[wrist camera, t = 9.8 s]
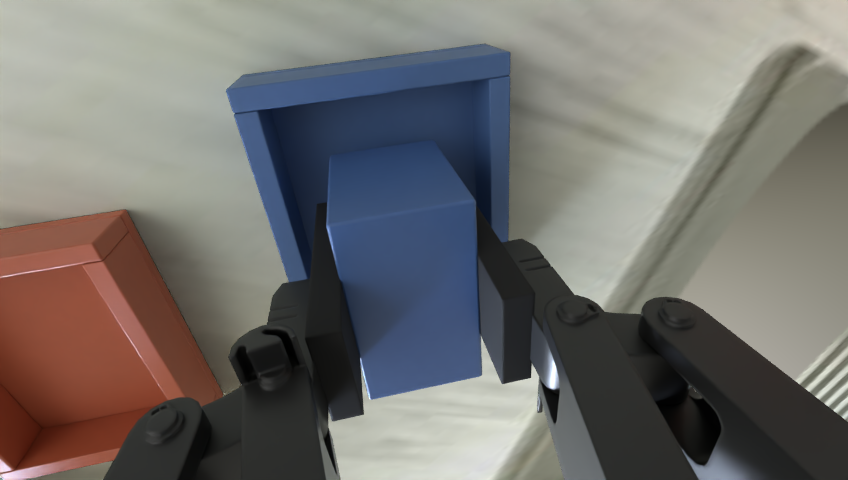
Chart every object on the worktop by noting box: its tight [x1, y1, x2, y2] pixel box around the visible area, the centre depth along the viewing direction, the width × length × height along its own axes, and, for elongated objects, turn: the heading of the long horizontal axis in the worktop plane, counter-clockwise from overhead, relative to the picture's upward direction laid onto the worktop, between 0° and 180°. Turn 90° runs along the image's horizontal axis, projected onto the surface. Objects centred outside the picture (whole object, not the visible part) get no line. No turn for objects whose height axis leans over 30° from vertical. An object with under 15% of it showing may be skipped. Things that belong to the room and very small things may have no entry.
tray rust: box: [0, 210, 223, 480], centre depth 17 cm, size 10×8×2 cm
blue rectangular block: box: [326, 140, 482, 399], centre depth 13 cm, size 6×4×5 cm, turn 6°
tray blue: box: [226, 44, 510, 282], centre depth 16 cm, size 10×8×2 cm
